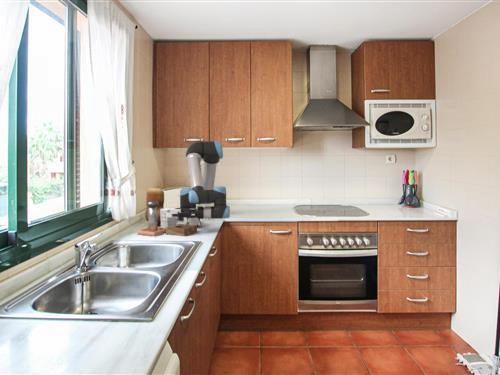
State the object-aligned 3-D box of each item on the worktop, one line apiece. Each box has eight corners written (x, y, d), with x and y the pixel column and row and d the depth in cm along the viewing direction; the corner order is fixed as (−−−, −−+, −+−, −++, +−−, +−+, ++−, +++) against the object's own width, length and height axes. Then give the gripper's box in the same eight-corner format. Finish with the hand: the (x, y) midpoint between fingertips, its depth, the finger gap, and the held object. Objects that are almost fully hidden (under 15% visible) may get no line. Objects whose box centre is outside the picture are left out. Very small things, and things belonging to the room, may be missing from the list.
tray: (152, 230, 224) (152, 226, 224) (168, 232, 218) (168, 228, 218) (137, 234, 212) (137, 230, 212) (154, 236, 207) (154, 232, 207)
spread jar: (181, 227, 235) (181, 209, 234) (195, 224, 243) (195, 207, 242) (193, 229, 227) (192, 211, 226) (207, 227, 235) (207, 209, 234)
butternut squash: (170, 224, 243) (169, 187, 241) (156, 228, 232) (154, 189, 230) (155, 222, 250) (154, 186, 248) (140, 226, 239) (139, 188, 237)
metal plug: (152, 230, 220) (151, 200, 218) (161, 231, 217) (160, 201, 215) (144, 232, 214) (143, 202, 212) (153, 233, 211) (152, 202, 209)
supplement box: (169, 226, 237) (169, 207, 236) (177, 227, 232) (176, 208, 231) (160, 228, 231) (159, 208, 230) (167, 229, 226) (167, 209, 225)
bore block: (179, 230, 225) (179, 223, 224) (197, 232, 219) (197, 225, 219) (166, 234, 213) (166, 227, 213) (184, 236, 207) (184, 229, 207)
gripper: (202, 222, 204) (164, 223, 203) (205, 215, 229) (171, 216, 228) (202, 209, 204) (164, 210, 202) (205, 203, 228) (171, 204, 227)
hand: (168, 213), depth 215 cm, fingers open, 13 cm apart
